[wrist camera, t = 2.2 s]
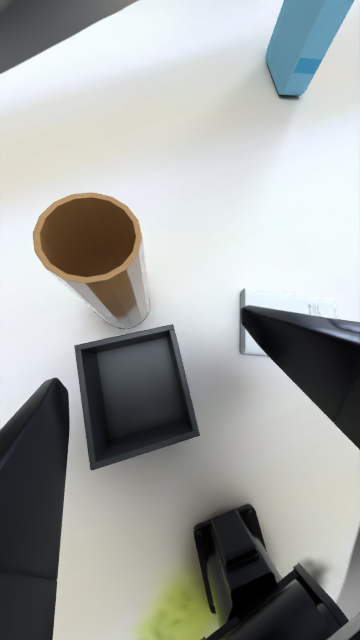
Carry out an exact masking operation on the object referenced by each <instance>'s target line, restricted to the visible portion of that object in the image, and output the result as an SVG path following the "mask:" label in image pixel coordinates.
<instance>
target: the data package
mask: <svg viewBox="0 0 360 640" xmlns="http://www.w3.org/2000/svg"><path fill="white" fill-rule="evenodd" d="M353 2H354V0H284V2H283V5H282V8H281V11H280V14H279V17H278V19H277V22H276V25H275V28H274V31H273V34H272V37H271V40H270V42H269V45H268V49H267V55H266V61H267V64H268V67H269V70H270V72H271V75H272V78H273V80H274V83H275V86H276V89H277V91H278V94H280V95H295V96H300V95H302V94H303V93H304V92H305V90H306V89H307V87H308V85H309V83H310V82H311V80H312V78H313V76H314V74H315V72H316V70H317V69H318V67H319V65H320V63H321V61H322V59H323V57H324V56H325V54H326V52H327V50H328V48H329V46H330V44H331V43H332V41H333V39H334V37H335V35H336V33H337V31H338V30H339V28H340V26H341V24H342V22H343V20H344V18H345V17H346V15H347V13H348V11H349V9H350V7H351V5H352V4H353Z"/></svg>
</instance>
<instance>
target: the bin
mask: <svg viewBox="0 0 360 640" xmlns="http://www.w3.org/2000/svg"><path fill="white" fill-rule="evenodd" d="M75 353H76V361H77V369H78V377H79V384H80V392H81V400H82V408H83V415H84V423H85V431H86V438H87V446H88V454H89V462H90V469H91V470H95V469H98V468H101V467H104V466H107V465H110V464H113V463H116V462H119V461H122V460H126V459H129V458H132V457H135V456H138V455H141V454H144V453H147V452H150V451H154V450H157V449H160V448H163V447H166V446H169V445H172V444H175V443H178V442H181V441H185V440H188V439H191V438H194V437H197V436H200V434H199V430H198V426H197V421H196V417H195V413H194V409H193V405H192V401H191V397H190V392H189V388H188V384H187V380H186V376H185V372H184V367H183V363H182V359H181V355H180V351H179V347H178V343H177V338H176V334H175V330H174V326H173V324H172V325H167V326H163V327H158V328H154V329H149V330H144V331H140V332H135V333H130V334H126V335H121V336H116V337H112V338H107V339H103V340H98V341H93V342H89V343H84V344H79V345H75Z"/></svg>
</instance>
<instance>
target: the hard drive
mask: <svg viewBox="0 0 360 640" xmlns="http://www.w3.org/2000/svg"><path fill="white" fill-rule="evenodd" d="M247 305H252V306H258V307H265V308H271V309H277V310H283V311H289V312H296V313H302V314H308V315H314V316H321V317H325V318H333V319H337V312H336V304H335V301H334V300H333V299H326V298H319V297H311V296H304V295H296V294H288V293H280V292H273V291H265V290H257V289H249V288H244V289H243V290H242V291H241V294H240V352H241V353H243V354H253V355H265V356H268V355H267V354H266V353H265V352H264V351H263V350H262V349H261V348H260V347H259V346H258V344H257V343H256V342H255V341H254V339H253V338H252V337H251V336H250V334H249V333H248V332H247V330H246V329H245V328H244V327H243V325H242V323H241V308H242V307H245V306H247Z"/></svg>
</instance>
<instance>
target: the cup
mask: <svg viewBox="0 0 360 640" xmlns="http://www.w3.org/2000/svg"><path fill="white" fill-rule="evenodd" d="M33 240H34V250H35V253H36V255H37V256H38V258H39V259H40V261H41V262H42V264H43V265H44V267H45V268H46V269H47V270H48V271H49V272H51V273H52V274H53V275H54V276H55V277H56V278H57V279H58V280H60V281H61V282H62V283H63V284H64V285H65V286H66V287H68V288H69V289H70V290H71V291H72V292H73V293H74V294H75V295H77V296H78V297H79V298H80V299H81V300H82V301H83V302H85V303H86V304H87V305H88V306H89V307H90V308H91V309H92V310H94V311H95V312H96V313H97V314H98V315H99V316H100V317H102V318H103V319H104V320H105V321H106V322H108V323H109V324H110V325H112V326H114V327H117V328H122V329H127V328H132V327H135V326H137V325H139V324H140V323H141V322H142V321H143V320H144V319H145V318H146V316H147V314H148V312H149V307H150V301H149V292H148V283H147V275H146V266H145V257H144V249H143V240H142V234H141V230H140V225H139V221H138V219H137V218H136V217H135V215H134V214H133V213H132V212H131V210H130V209H129V208H128V207H127V206H126V205H124V204H123V203H121V202H119V201H118V200H116V199H115V198H113V197H111V196H106V195H102V194H97V193H82V194H73V195H70V196H67V197H65V198H63V199H60V200H58V201H56V202H54V203H53V204H52V205H50V206H49V207H48V208H47V209H46V210H45V211H44V212H43V213H42V214H41V215H40V216H39V219H38V221H37V224H36V226H35V229H34V231H33Z"/></svg>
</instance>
